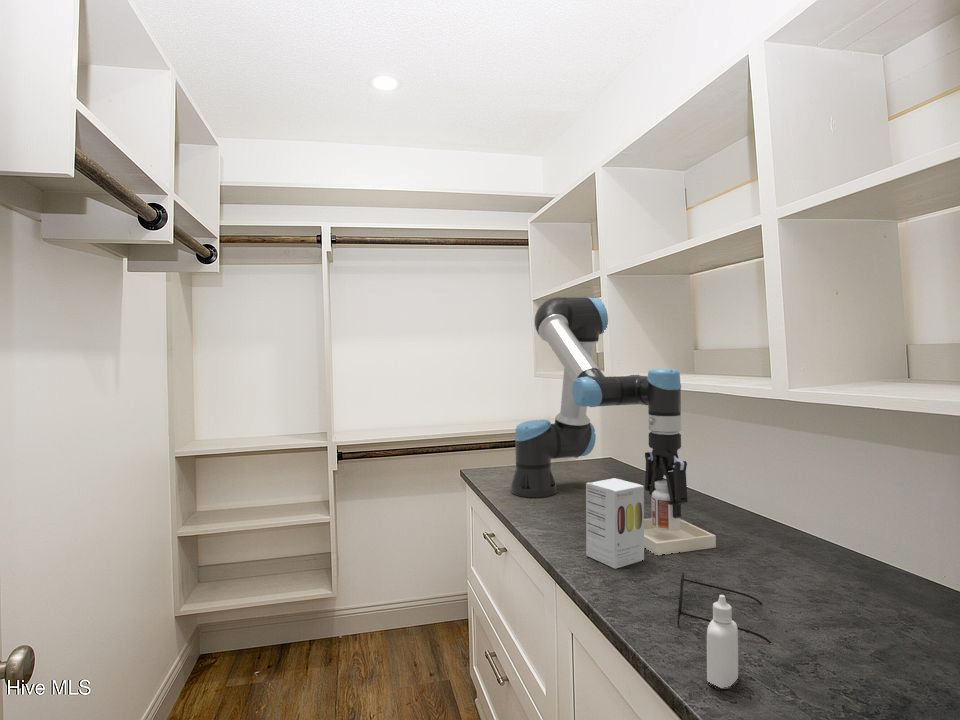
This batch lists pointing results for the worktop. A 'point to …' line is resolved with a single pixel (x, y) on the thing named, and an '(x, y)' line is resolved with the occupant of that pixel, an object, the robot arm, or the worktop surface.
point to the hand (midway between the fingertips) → (665, 525)
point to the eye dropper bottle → (722, 646)
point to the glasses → (708, 619)
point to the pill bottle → (660, 506)
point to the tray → (676, 539)
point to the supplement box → (615, 522)
